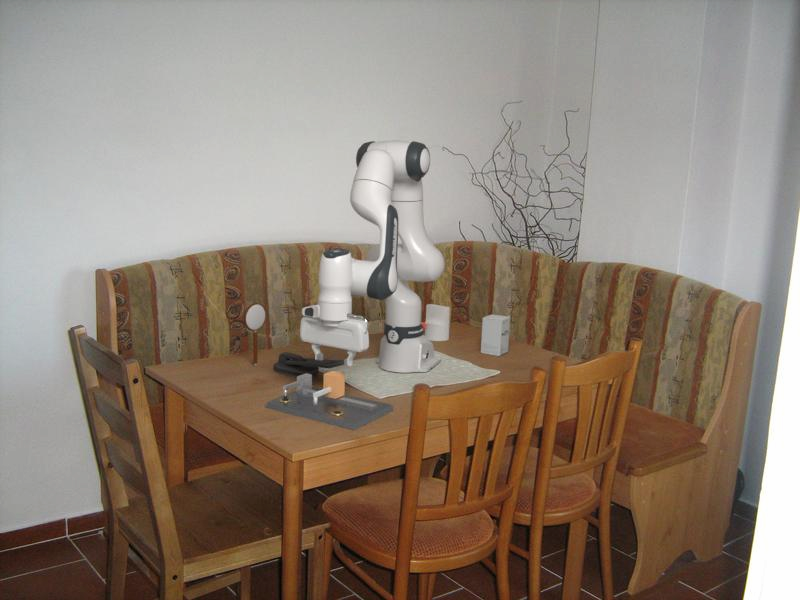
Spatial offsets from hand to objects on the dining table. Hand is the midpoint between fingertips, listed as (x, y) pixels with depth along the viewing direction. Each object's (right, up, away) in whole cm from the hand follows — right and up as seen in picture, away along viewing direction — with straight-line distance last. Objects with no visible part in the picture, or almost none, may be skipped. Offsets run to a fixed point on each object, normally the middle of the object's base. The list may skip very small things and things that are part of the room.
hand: (333, 363), depth 205 cm
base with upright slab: (+31, +2, +81) cm, 87 cm away
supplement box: (+50, -2, +63) cm, 80 cm away
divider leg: (-2, -10, -1) cm, 10 cm away
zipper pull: (-10, -7, +29) cm, 31 cm away
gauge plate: (-1, -12, 0) cm, 12 cm away
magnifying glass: (-28, -4, +37) cm, 47 cm away
